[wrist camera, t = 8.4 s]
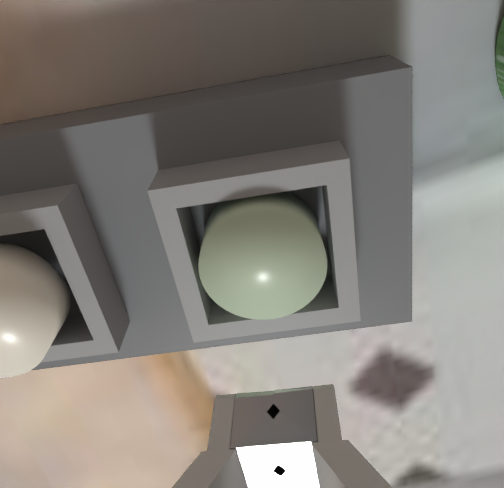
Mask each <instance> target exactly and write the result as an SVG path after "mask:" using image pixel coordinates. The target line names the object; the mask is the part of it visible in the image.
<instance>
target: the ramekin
mask: <svg viewBox="0 0 504 488" xmlns="http://www.w3.org/2000/svg"><path fill="white" fill-rule="evenodd" d="M495 66H496V75H497V82H498V85H499V89H500V91H501V94H502V96H503V98H504V17H503V19H502V22H501V26H500V29H499V33H498V37H497V44H496V52H495Z"/></svg>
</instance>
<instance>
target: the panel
mask: <svg viewBox="0 0 504 488" xmlns="http://www.w3.org/2000/svg"><path fill="white" fill-rule="evenodd" d="M285 191H289V192H292V193H293V194H295V195H297V196H298V197H299V198H301V199H302V200H303V201H304V202H305V203H306V204H307V205H308V206H309V207H310V209H311V210H312V211H313V213H314V215H315V217H316V219H317V222H318V225H319V229H320V233H321V237H322V240H323V244H324V248H325V251H326V256H327V274H326V278H325V281H324V283H323V285H322V288H321V289H320V291H319V292H318V294H317V295H316V296H315V297H314V299H313V300H312V301H311V302H309V303H308V304H307V305H306V306H305V307H303V308H302V309H300V310H298V311H296V312H295V313H292V314H290V315H288V316H284V317H281V318H276V319H268V320H256V319H248V318H244V317H240V316H237V315H235V314H232V313H230V312H228V311H226V310H225V309H223V308H222V307H220V306H219V305H218V304H217V303H215V302H214V301H213V300H212V298H211V297H210V296H209V295H208V293H207V292H206V291H205V289H204V287H203V285H202V282H201V279H200V275H199V267H198V263H199V255H200V250H201V246H202V241H203V236H204V231H205V226H206V223H207V220H208V218H209V215H210V214H211V212H212V211H213V209H214V208H215V207H216V205H217V204H218V203H219V202H221V201H227V200H234V199H240V198H247V197H253V196H259V195H266V194H272V193H279V192H285ZM0 242H1V243H9V244H13V245H17V246H20V247H23V248H25V249H27V250H30V251H32V252H34V253H35V254H37V255H39V256H40V257H42V258H43V259H45V260H46V261H47V262H48V263H50V264H51V265H52V266H53V267H54V268H55V269H56V270H57V272H58V273H59V274H60V276H61V277H62V278H63V280H64V282H65V284H66V286H67V289H68V291H69V296H70V309H69V313H68V316H67V318H66V319H65V321H64V323H63V325H62V327H61V328H60V330H59V332H58V334H57V335H56V337H55V339H54V341H53V342H52V344H51V346H50V348H49V350H48V351H47V353H46V355H45V357H44V358H43V360H42V361H41V362H40V364H38V365H37V366H36V367H35V368H34V369H32V370H37V369H45V368H53V367H61V366H68V365H76V364H84V363H92V362H100V361H107V360H115V359H123V358H131V357H139V356H146V355H154V354H162V353H170V352H178V351H185V350H193V349H201V348H209V347H217V346H224V345H232V344H240V343H248V342H256V341H263V340H271V339H279V338H287V337H295V336H302V335H310V334H318V333H326V332H334V331H341V330H349V329H357V328H365V327H373V326H380V325H388V324H396V323H404V322H412V67H411V66H409V65H407V64H405V63H403V62H401V61H399V60H397V59H395V58H394V57H392V56H390V55H388V56H383V57H377V58H371V59H366V60H360V61H355V62H349V63H343V64H338V65H332V66H327V67H321V68H315V69H310V70H304V71H299V72H293V73H287V74H282V75H276V76H271V77H265V78H259V79H254V80H248V81H243V82H237V83H231V84H226V85H220V86H215V87H209V88H203V89H198V90H192V91H187V92H181V93H175V94H170V95H164V96H159V97H153V98H147V99H142V100H136V101H131V102H125V103H119V104H114V105H108V106H103V107H97V108H91V109H86V110H80V111H75V112H69V113H63V114H58V115H52V116H47V117H41V118H35V119H30V120H24V121H19V122H13V123H7V124H2V125H0Z"/></svg>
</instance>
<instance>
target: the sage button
mask: <svg viewBox="0 0 504 488" xmlns="http://www.w3.org/2000/svg"><path fill="white" fill-rule="evenodd" d="M198 267H199V275H200V279H201V282H202V285H203V287H204V289H205V291H206V292H207V293H208V295H209V296H210V297H211V298H212V300H213V301H214V302H215V303H217V304H218V305H219V306H220V307H222V308H223V309H225V310H226V311H228V312H230V313H232V314H235V315H237V316H240V317H244V318H248V319H256V320H268V319H276V318H281V317H284V316H288V315H290V314H292V313H295V312H296V311H298V310H300V309H302V308H303V307H305V306H306V305H307V304H308V303H309V302H311V301H312V300H313V299H314V297H315V296H316V295H317V294H318V292H319V291H320V289H321V288H322V285H323V283H324V281H325V278H326V274H327V256H326V251H325V248H324V244H323V240H322V237H321V233H320V229H319V225H318V222H317V219H316V217H315V215H314V213H313V211H312V210H311V209H310V207H309V206H308V205H307V204H306V203H305V202H304V201H303V200H302V199H301V198H299V197H298V196H297V195H295V194H293V193H292V192H289V191H285V192H279V193H272V194H266V195H259V196H253V197H247V198H240V199H234V200H227V201H221V202H219V203H218V204H217V205H216V207H215V208H214V209H213V211H212V212H211V214H210V215H209V218H208V220H207V223H206V226H205V231H204V236H203V241H202V246H201V250H200V255H199V263H198Z"/></svg>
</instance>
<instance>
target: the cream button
mask: <svg viewBox="0 0 504 488" xmlns="http://www.w3.org/2000/svg"><path fill="white" fill-rule="evenodd" d="M69 309H70V296H69V291H68V289H67V286H66V284H65V282H64V280H63V278H62V277H61V276H60V274H59V273H58V272H57V270H56V269H55V268H54V267H53V266H52V265H51V264H50V263H48V262H47V261H46V260H45V259H43V258H42V257H40V256H39V255H37V254H35V253H34V252H32V251H30V250H27V249H25V248H23V247H20V246H17V245H13V244H9V243H1V242H0V378H6V377H14V376H18V375H21V374H24V373H26V372H29V371H30V370H32V369H34V368H35V367H36V366H37V365H38V364H40V362H41V361H42V360H43V358H44V357H45V355H46V353H47V351H48V350H49V348H50V346H51V344H52V342H53V341H54V339H55V337H56V335H57V334H58V332H59V330H60V328H61V327H62V325H63V323H64V321H65V319H66V318H67V316H68V313H69Z"/></svg>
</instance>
